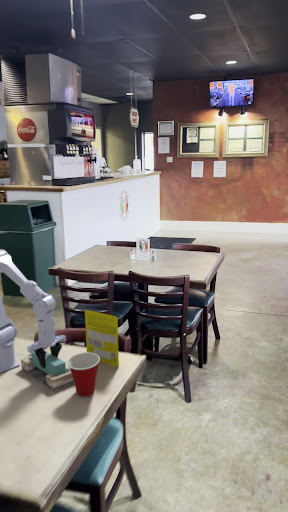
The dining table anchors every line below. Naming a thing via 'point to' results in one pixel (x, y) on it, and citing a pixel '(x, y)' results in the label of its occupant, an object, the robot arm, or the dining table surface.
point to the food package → (102, 336)
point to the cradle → (46, 379)
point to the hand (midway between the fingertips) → (48, 365)
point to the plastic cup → (84, 372)
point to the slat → (50, 364)
